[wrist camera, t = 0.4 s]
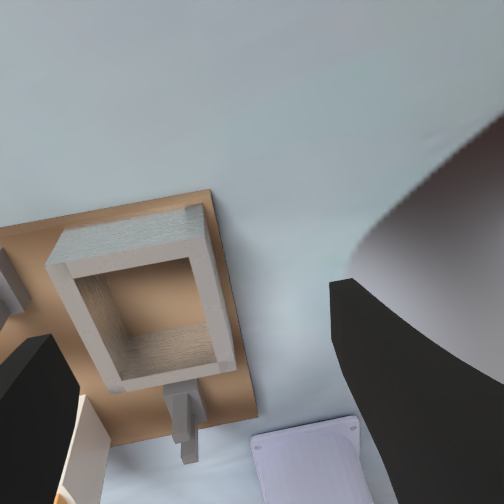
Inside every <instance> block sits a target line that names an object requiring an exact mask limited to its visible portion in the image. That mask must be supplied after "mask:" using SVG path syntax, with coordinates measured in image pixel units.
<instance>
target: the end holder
mask: <svg viewBox="0 0 504 504" xmlns="http://www.w3.org/2000/svg"><path fill="white" fill-rule="evenodd" d="M185 257H189V260H190V264H191V267H192V271H193V274H194V278H195V282H196V285H197V289H198V293H199V296H200V300H201V304H202V307H203V311H204V315H205V318H206V322H202V323H197V324H192V325H187V326H182V327H176V328H171V329H166V330H161V331H156V332H151V333H146V334H140V335H135V336H129V334H128V331H127V329H126V327H125V324H124V322H123V320H122V317H121V315H120V312H119V310H118V308H117V305H116V303H115V301H114V298H113V296H112V294H111V291H110V289H109V286H108V284H107V282H106V279H105V277H104V275H103V273H106V272H111V271H117V270H122V269H127V268H132V267H138V266H143V265H148V264H154V263H159V262H164V261H169V260H175V259H180V258H185ZM44 267H45V269H46V271H47V273H48V275H49V277H50V278H51V280H52V282H53V284H54V286H55V288H56V290H57V292H58V294H59V296H60V298H61V300H62V302H63V304H64V306H65V308H66V310H67V312H68V314H69V315H70V317H71V319H72V321H73V323H74V325H75V327H76V329H77V331H78V333H79V335H80V337H81V339H82V341H83V343H84V345H85V347H86V349H87V351H88V352H89V354H90V356H91V358H92V360H93V362H94V364H95V366H96V368H97V370H98V372H99V374H100V376H101V378H102V380H103V382H104V384H105V386H106V388H107V389H108V391H109V393H110V395H114V394H119V393H124V392H129V391H134V390H139V389H144V388H149V387H155V386H160V385H165V384H170V383H175V382H180V381H185V380H190V379H195V378H200V377H205V376H210V375H215V374H220V373H225V372H230V371H235V370H237V369H236V360H235V352H234V344H233V336H232V328H231V323H230V319H229V315H228V310H227V306H226V302H225V297H224V293H223V289H222V284H221V280H220V276H219V271H218V267H217V263H216V258H215V254H214V250H213V245H212V241H211V237H210V232H209V228H208V224H207V219H206V215H205V211H204V206H203V203H198V204H193V205H188V206H182V207H177V208H171V209H166V210H161V211H155V212H150V213H144V214H139V215H134V216H128V217H123V218H117V219H112V220H107V221H101V222H96V223H90V224H85V225H80V226H74V227H69V228H64V230H63V232H62V234H61V236H60V238H59V239H58V241H57V243H56V245H55V247H54V249H53V251H52V252H51V254H50V256H49V258H48V260H47V262H46V263H45V265H44Z"/></svg>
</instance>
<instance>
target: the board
mask: <svg viewBox="0 0 504 504" xmlns="http://www.w3.org/2000/svg"><path fill="white" fill-rule="evenodd" d="M198 203H203V206H204V211H205V215H206V219H207V224H208V228H209V232H210V237H211V241H212V245H213V250H214V254H215V258H216V263H217V267H218V271H219V276H220V280H221V284H222V289H223V293H224V297H225V302H226V306H227V310H228V315H229V319H230V323H231V328H232V336H233V344H234V352H235V360H236V369H237V370H235V371H230V372H225V373H220V374H215V375H210V376H205V377H200V378H198V380H199V383H200V386H201V389H202V392H203V395H204V399H205V402H206V405H207V412H208V421H206V422H202V423H198V429H203V428H208V427H213V426H218V425H222V424H227V423H232V422H237V421H242V420H247V419H252V418H257V417H258V412H257V405H256V400H255V396H254V391H253V387H252V382H251V377H250V373H249V368H248V363H247V359H246V354H245V349H244V345H243V340H242V336H241V331H240V326H239V322H238V317H237V312H236V308H235V303H234V298H233V294H232V289H231V284H230V280H229V275H228V271H227V266H226V261H225V257H224V252H223V247H222V243H221V238H220V233H219V229H218V224H217V220H216V215H215V210H214V206H213V201H212V196H211V192H210V189H208V190H202V191H197V192H191V193H186V194H181V195H175V196H170V197H164V198H159V199H153V200H148V201H143V202H137V203H132V204H126V205H121V206H116V207H110V208H105V209H99V210H94V211H88V212H83V213H78V214H72V215H67V216H61V217H56V218H50V219H45V220H40V221H34V222H29V223H23V224H18V225H12V226H7V227H2V228H0V247H3V248H4V250H5V252H6V254H7V256H8V257H9V259H10V261H11V263H12V264H13V266H14V268H15V270H16V271H17V273H18V275H19V277H20V279H21V280H22V282H23V284H24V286H25V287H26V289H27V291H28V293H29V295H30V296H31V298H32V299H31V301H30V303H29V305H28V307H27V309H26V311H25V312H23V313H18V314H13V315H10V316H9V317H8V319H7V321H6V323H5V324H4V326H3V328H2V330H1V331H0V365H1V363H2V362H3V361H4V360H5V359H6V358H7V357H8V356H9V355H10V354H11V353H12V352H13V351H14V350H15V349H16V348H17V347H18V346H19V345H20V344H21V343H23V342H24V341H25V340H26V339H27V338H30V337H35V336H41V335H46V334H52V335H53V337H54V339H55V341H56V343H57V345H58V346H59V348H60V350H61V352H62V354H63V356H64V358H65V359H66V361H67V363H68V365H69V367H70V369H71V370H72V372H73V374H74V376H75V378H76V380H77V381H78V383H79V385H80V394H79V396H81V395H86V396H87V397H88V399H89V401H90V403H91V405H92V406H93V408H94V410H95V412H96V413H97V415H98V417H99V419H100V421H101V422H102V424H103V426H104V428H105V429H106V431H107V433H108V435H109V436H110V438H111V443H110V447H113V446H118V445H123V444H128V443H133V442H138V441H143V440H148V439H153V438H158V437H163V436H168V435H172V418H171V416H170V413H169V411H168V408H167V406H166V403H165V401H164V399H163V385H160V386H155V387H149V388H144V389H139V390H134V391H129V392H124V393H119V394H114V395H110V393H109V391H108V389H107V388H106V386H105V384H104V382H103V380H102V378H101V376H100V374H99V372H98V370H97V368H96V366H95V364H94V362H93V360H92V358H91V356H90V354H89V352H88V351H87V349H86V347H85V345H84V343H83V341H82V339H81V337H80V335H79V333H78V331H77V329H76V327H75V325H74V323H73V321H72V319H71V317H70V315H69V314H68V312H67V310H66V308H65V306H64V304H63V302H62V300H61V298H60V296H59V294H58V292H57V290H56V288H55V286H54V284H53V282H52V280H51V278H50V277H49V275H48V273H47V271H46V269H45V267H44V265H45V263H46V262H47V260H48V258H49V256H50V254H51V252H52V251H53V249H54V247H55V245H56V243H57V241H58V239H59V238H60V236H61V234H62V232H63V230H64V228H69V227H74V226H80V225H85V224H90V223H96V222H101V221H107V220H112V219H117V218H123V217H128V216H134V215H139V214H144V213H150V212H155V211H161V210H166V209H171V208H177V207H182V206H188V205H193V204H198ZM103 275H104V277H105V279H106V282H107V284H108V286H109V289H110V291H111V294H112V296H113V298H114V301H115V303H116V305H117V308H118V310H119V312H120V315H121V317H122V320H123V322H124V324H125V327H126V329H127V331H128V334H129V336H135V335H140V334H146V333H151V332H156V331H161V330H166V329H171V328H176V327H182V326H187V325H192V324H197V323H202V322H206V318H205V315H204V311H203V307H202V304H201V300H200V296H199V293H198V289H197V285H196V282H195V278H194V274H193V271H192V267H191V264H190V260H189V257H185V258H180V259H175V260H169V261H164V262H159V263H154V264H148V265H143V266H138V267H132V268H127V269H122V270H117V271H111V272H106V273H103Z"/></svg>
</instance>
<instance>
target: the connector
mask: <svg viewBox="0 0 504 504" xmlns="http://www.w3.org/2000/svg"><path fill="white" fill-rule="evenodd" d="M110 443H111V438H110V436H109V435H108V433H107V431H106V429H105V428H104V426H103V424H102V422H101V421H100V419H99V417H98V415H97V413H96V412H95V410H94V408H93V406H92V405H91V403H90V401H89V399H88V397H87V396H86V395H81V396H79V403H78V410H77V417H76V423H75V428H74V432H73V436H72V439H71V443H70V447H69V450H68V454H67V458H66V461H65V465H64V468H63V472H62V475H61V479H60V483H59V486H58V490H57V493H56V497H55V500H54V504H100V499H101V493H102V488H103V482H104V477H105V471H106V466H107V460H108V454H109V449H110Z"/></svg>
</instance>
